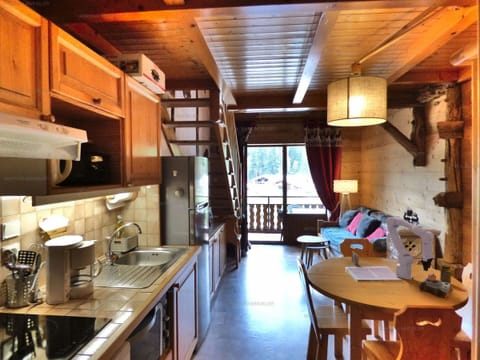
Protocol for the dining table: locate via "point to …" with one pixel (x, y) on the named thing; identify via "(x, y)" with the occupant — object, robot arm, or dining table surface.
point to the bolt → (432, 289)
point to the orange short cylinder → (432, 278)
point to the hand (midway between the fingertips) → (426, 269)
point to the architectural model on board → (355, 258)
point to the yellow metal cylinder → (445, 274)
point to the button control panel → (438, 285)
